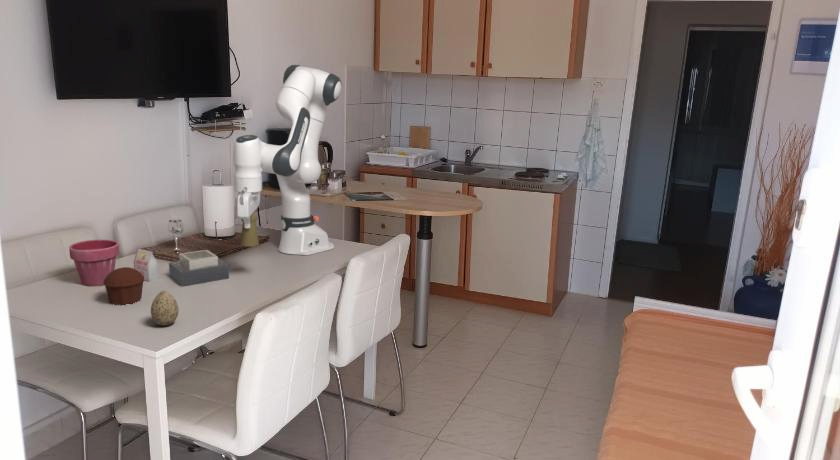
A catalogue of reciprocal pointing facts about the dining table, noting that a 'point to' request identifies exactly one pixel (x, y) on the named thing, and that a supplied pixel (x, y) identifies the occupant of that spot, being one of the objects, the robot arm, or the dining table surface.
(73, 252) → the plant pot
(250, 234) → the cork
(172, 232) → the wineglass
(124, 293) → the muffin
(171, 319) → the decorative egg
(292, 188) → the robot arm
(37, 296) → the dining table surface
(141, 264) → the white box
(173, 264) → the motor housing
